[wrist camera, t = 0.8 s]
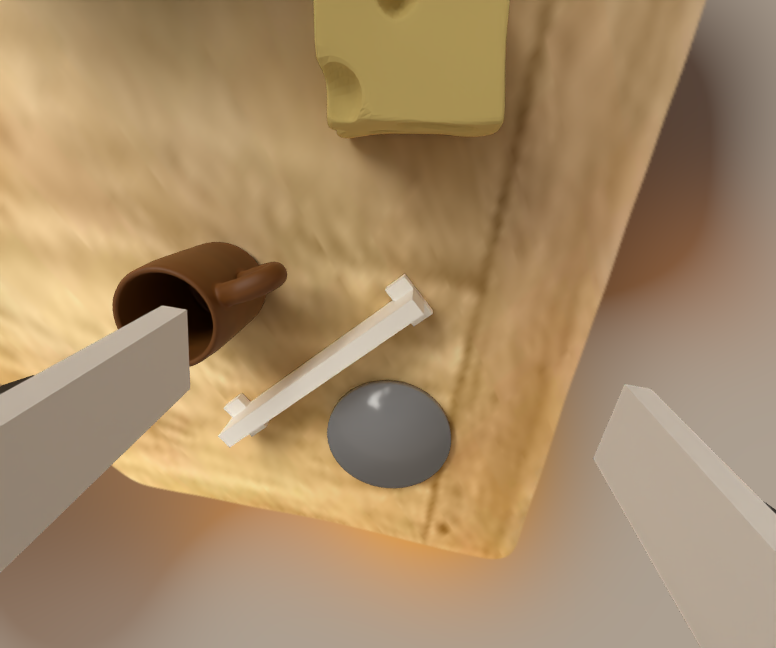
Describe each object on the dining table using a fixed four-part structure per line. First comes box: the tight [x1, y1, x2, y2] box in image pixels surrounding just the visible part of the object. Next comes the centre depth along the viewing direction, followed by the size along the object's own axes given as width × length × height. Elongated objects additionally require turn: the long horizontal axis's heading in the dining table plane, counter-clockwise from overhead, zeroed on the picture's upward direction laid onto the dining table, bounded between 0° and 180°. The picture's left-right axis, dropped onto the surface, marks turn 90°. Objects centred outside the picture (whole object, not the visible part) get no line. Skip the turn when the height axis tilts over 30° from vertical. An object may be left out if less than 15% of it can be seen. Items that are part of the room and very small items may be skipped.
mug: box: [113, 242, 287, 367], centre depth 31 cm, size 12×8×9 cm, turn 110°
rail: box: [218, 274, 433, 447], centre depth 36 cm, size 4×22×4 cm, turn 128°
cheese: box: [313, 0, 510, 138], centre depth 24 cm, size 10×11×10 cm
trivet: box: [327, 380, 451, 488], centre depth 40 cm, size 12×12×1 cm
